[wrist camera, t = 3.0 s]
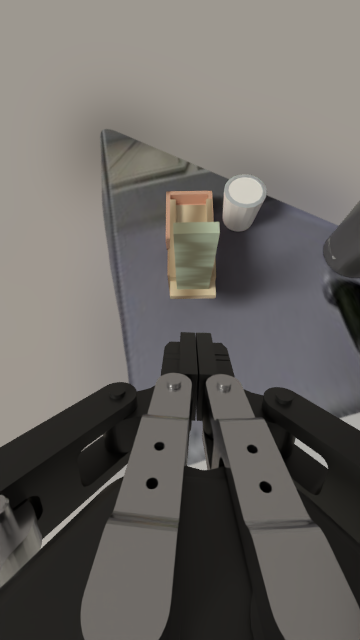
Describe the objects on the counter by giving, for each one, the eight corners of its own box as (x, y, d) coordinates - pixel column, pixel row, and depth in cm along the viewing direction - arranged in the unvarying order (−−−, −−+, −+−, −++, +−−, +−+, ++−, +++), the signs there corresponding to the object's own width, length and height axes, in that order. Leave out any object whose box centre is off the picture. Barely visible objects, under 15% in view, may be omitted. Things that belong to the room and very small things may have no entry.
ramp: (210, 209, 41) (221, 123, 29) (215, 298, 37) (230, 241, 24) (170, 210, 41) (165, 124, 29) (170, 298, 37) (163, 242, 24)
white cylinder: (235, 197, 52) (243, 166, 46) (263, 218, 51) (275, 189, 44) (211, 219, 51) (215, 190, 44) (239, 241, 49) (247, 214, 43)
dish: (210, 202, 52) (212, 190, 49) (212, 249, 49) (214, 239, 46) (167, 203, 52) (166, 191, 49) (166, 250, 49) (165, 240, 46)
